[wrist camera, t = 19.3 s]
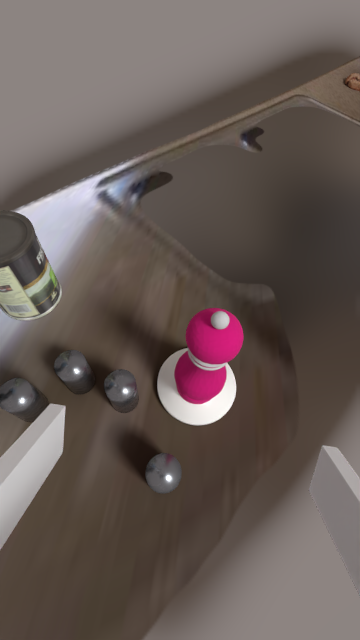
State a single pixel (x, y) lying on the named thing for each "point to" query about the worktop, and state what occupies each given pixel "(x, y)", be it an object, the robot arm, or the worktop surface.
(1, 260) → the coffee can
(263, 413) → the worktop surface
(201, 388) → the pepper mill
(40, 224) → the worktop surface
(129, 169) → the worktop surface
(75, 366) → the posts
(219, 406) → the disc
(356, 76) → the cookie
